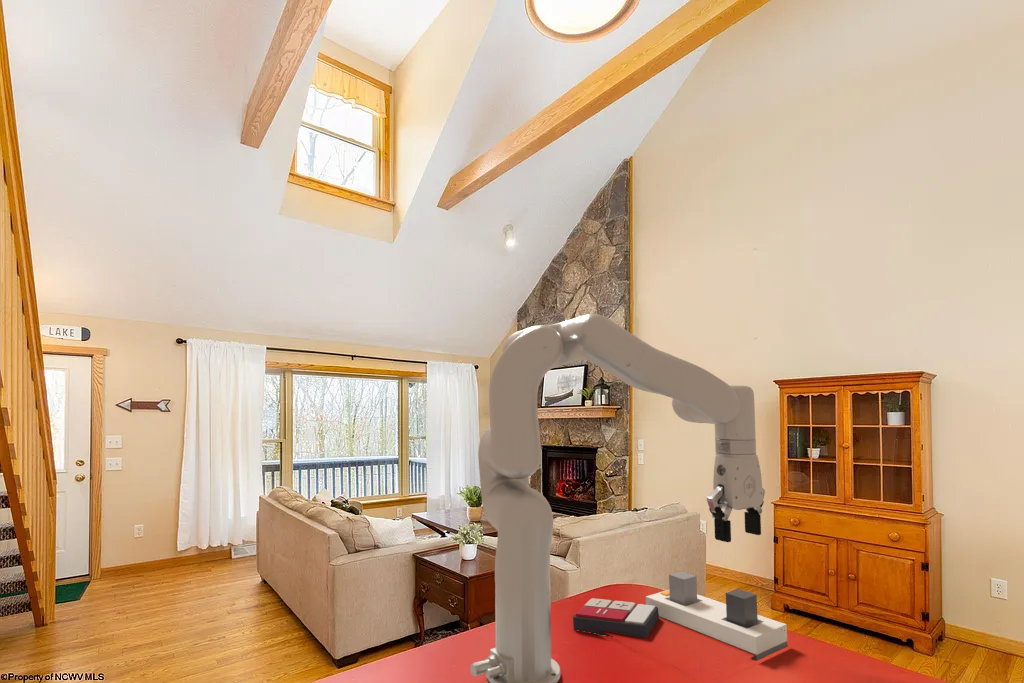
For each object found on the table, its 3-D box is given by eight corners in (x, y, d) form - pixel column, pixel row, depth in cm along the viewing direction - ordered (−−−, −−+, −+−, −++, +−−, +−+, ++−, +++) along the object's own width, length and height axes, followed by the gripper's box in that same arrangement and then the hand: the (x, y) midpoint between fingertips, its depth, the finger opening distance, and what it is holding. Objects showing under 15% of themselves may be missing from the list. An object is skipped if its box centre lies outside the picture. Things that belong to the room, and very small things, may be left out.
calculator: (589, 596, 129) (658, 602, 122) (591, 616, 128) (659, 624, 122) (571, 613, 119) (644, 621, 112) (573, 635, 119) (646, 645, 112)
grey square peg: (685, 619, 121) (684, 579, 122) (670, 613, 124) (668, 574, 125) (697, 615, 123) (696, 575, 124) (682, 609, 127) (681, 571, 127)
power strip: (756, 660, 105) (755, 635, 105) (646, 615, 126) (645, 595, 126) (787, 646, 110) (786, 622, 111) (676, 605, 132) (676, 585, 132)
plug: (745, 643, 110) (744, 598, 110) (727, 635, 113) (725, 592, 114) (758, 637, 112) (756, 594, 113) (739, 630, 115) (738, 588, 116)
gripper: (725, 452, 108) (728, 548, 106) (778, 447, 117) (781, 534, 116) (691, 449, 114) (693, 539, 112) (744, 444, 124) (747, 527, 122)
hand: (738, 537), depth 114 cm, fingers open, 9 cm apart
